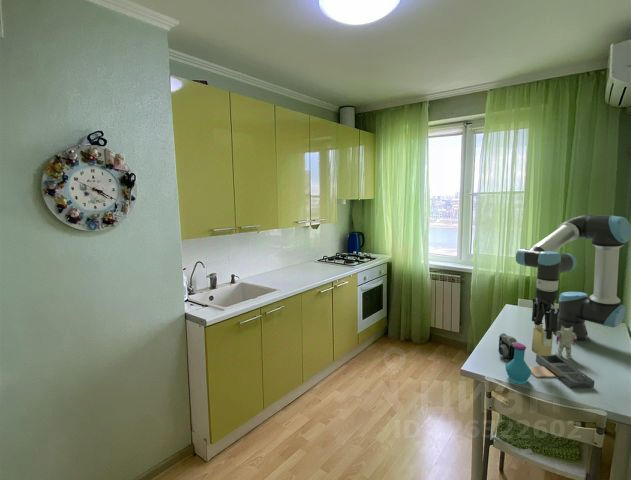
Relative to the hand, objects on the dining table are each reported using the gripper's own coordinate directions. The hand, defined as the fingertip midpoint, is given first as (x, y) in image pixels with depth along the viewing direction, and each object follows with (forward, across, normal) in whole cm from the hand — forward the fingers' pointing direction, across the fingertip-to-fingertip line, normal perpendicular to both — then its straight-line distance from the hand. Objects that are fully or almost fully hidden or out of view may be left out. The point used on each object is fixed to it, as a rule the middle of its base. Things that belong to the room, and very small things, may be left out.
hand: (542, 342), depth 146 cm
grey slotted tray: (+14, +1, +9) cm, 16 cm away
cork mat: (+14, 0, 0) cm, 14 cm away
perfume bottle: (+14, +5, -12) cm, 19 cm away
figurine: (+14, -14, +20) cm, 28 cm away
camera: (+14, -15, -6) cm, 21 cm away
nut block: (+5, 0, 0) cm, 5 cm away
